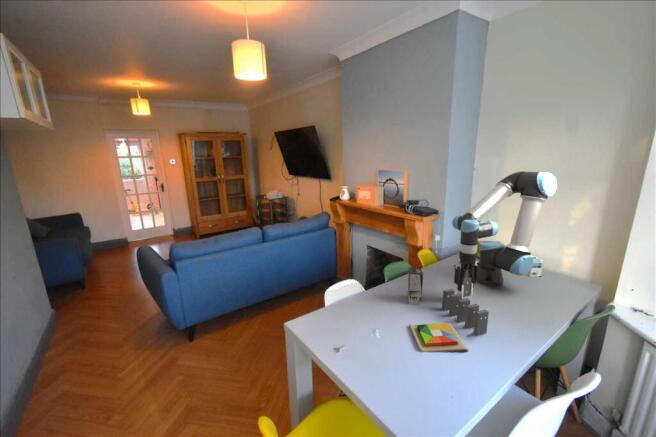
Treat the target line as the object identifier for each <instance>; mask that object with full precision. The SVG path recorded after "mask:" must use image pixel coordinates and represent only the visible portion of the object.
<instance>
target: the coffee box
mask: <svg viewBox="0 0 656 437" xmlns="http://www.w3.org/2000/svg"><path fill="white" fill-rule="evenodd" d="M422 270H423V269H422V268H421V267H420V268H419V267H408V273H407V274H408V277H407V281H408V282H407V301H408V304H410V305H422V296H423V285H424V284H423V282H424V281H423V280H424V274H423V271H422Z"/></svg>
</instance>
